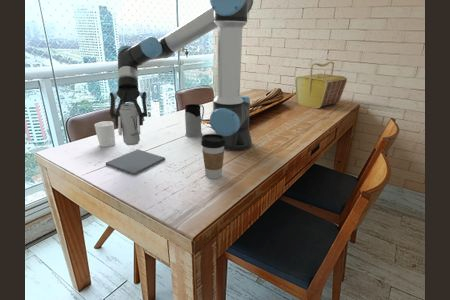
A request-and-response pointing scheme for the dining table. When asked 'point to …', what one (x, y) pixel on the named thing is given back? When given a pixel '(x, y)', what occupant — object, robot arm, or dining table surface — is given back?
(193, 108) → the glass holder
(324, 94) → the picnic basket
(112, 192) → the dining table surface
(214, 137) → the coffee cup
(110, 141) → the white cup
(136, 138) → the energy drink can
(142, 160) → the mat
